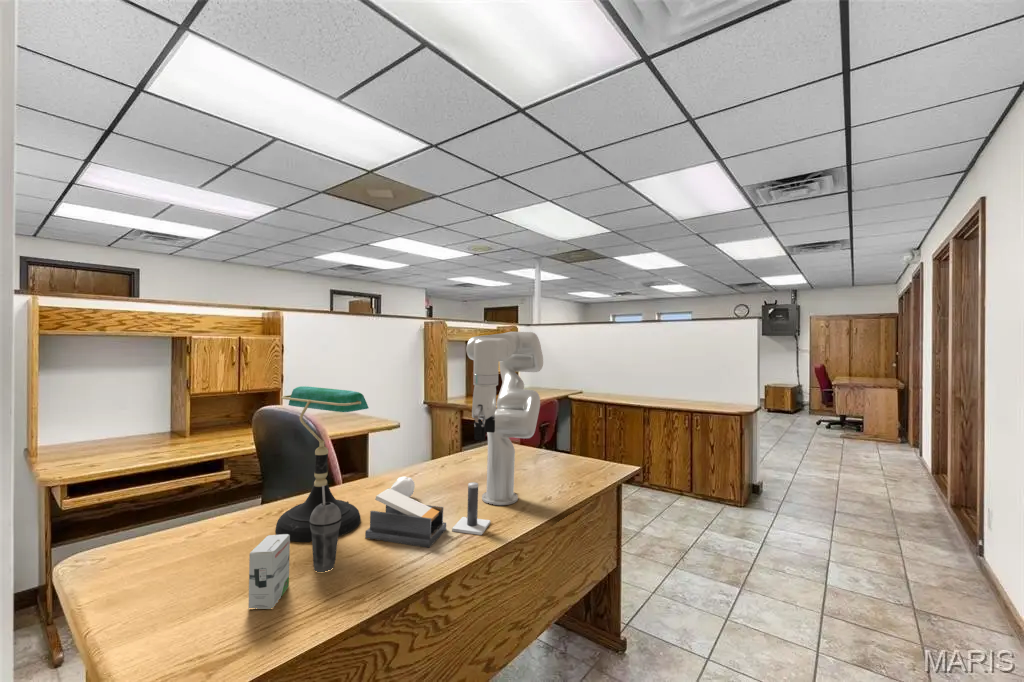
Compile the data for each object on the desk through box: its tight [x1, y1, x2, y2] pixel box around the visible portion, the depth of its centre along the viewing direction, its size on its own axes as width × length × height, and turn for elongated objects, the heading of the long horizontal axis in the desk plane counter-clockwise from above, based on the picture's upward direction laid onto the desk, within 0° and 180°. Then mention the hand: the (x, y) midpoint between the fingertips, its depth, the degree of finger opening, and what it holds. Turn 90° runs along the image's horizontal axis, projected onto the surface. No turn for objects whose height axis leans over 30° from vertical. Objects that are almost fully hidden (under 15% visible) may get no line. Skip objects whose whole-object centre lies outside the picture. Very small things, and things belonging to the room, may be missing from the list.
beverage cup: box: [309, 486, 342, 573], centre depth 107 cm, size 7×7×20 cm
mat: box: [451, 516, 491, 536], centre depth 133 cm, size 9×9×1 cm
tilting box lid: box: [374, 487, 440, 522], centre depth 127 cm, size 17×7×1 cm, turn 77°
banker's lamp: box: [274, 385, 369, 543], centre depth 132 cm, size 26×23×40 cm
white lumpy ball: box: [390, 476, 415, 498], centre depth 155 cm, size 8×8×8 cm
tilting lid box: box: [364, 504, 447, 548], centre depth 127 cm, size 19×12×7 cm, turn 77°
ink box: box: [248, 534, 291, 609], centre depth 94 cm, size 9×5×12 cm, turn 5°
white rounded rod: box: [466, 482, 479, 526], centre depth 133 cm, size 3×3×12 cm
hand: (484, 435), depth 136 cm, fingers open, 9 cm apart
